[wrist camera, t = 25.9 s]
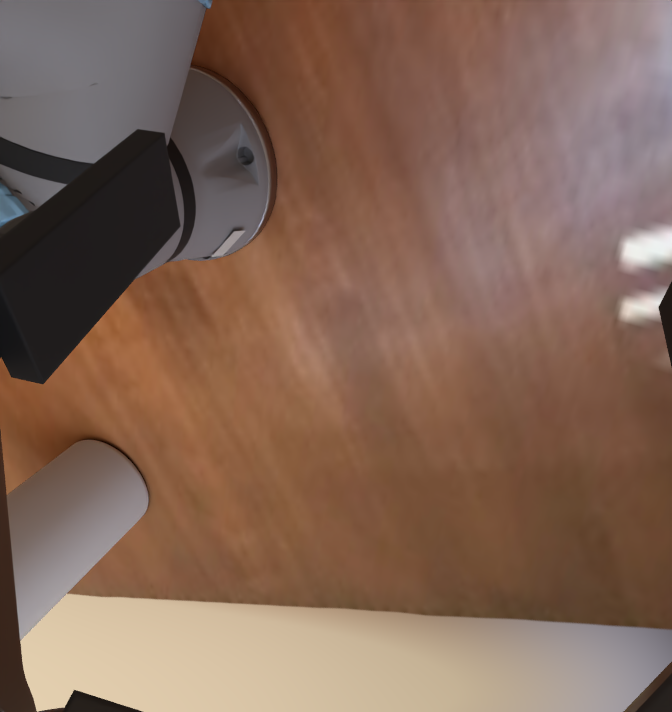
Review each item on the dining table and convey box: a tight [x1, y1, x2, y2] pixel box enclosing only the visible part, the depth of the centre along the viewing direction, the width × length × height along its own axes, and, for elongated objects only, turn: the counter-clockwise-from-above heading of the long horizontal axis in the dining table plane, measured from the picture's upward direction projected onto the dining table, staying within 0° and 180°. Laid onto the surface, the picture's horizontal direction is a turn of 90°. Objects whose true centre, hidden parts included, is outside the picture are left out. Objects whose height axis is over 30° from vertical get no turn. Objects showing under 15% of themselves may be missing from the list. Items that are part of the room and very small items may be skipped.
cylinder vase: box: [7, 440, 149, 641], centre depth 66 cm, size 12×12×25 cm
